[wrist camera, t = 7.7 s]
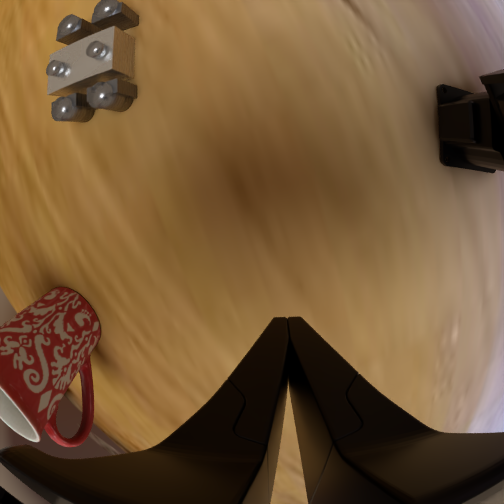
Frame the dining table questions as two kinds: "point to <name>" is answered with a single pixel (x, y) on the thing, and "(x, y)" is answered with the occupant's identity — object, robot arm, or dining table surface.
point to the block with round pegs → (91, 62)
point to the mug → (47, 364)
